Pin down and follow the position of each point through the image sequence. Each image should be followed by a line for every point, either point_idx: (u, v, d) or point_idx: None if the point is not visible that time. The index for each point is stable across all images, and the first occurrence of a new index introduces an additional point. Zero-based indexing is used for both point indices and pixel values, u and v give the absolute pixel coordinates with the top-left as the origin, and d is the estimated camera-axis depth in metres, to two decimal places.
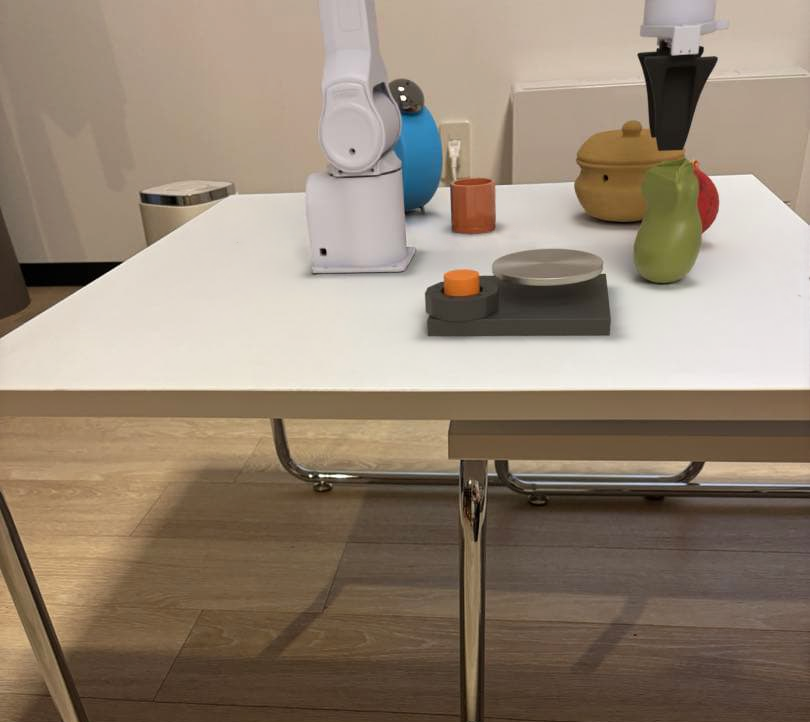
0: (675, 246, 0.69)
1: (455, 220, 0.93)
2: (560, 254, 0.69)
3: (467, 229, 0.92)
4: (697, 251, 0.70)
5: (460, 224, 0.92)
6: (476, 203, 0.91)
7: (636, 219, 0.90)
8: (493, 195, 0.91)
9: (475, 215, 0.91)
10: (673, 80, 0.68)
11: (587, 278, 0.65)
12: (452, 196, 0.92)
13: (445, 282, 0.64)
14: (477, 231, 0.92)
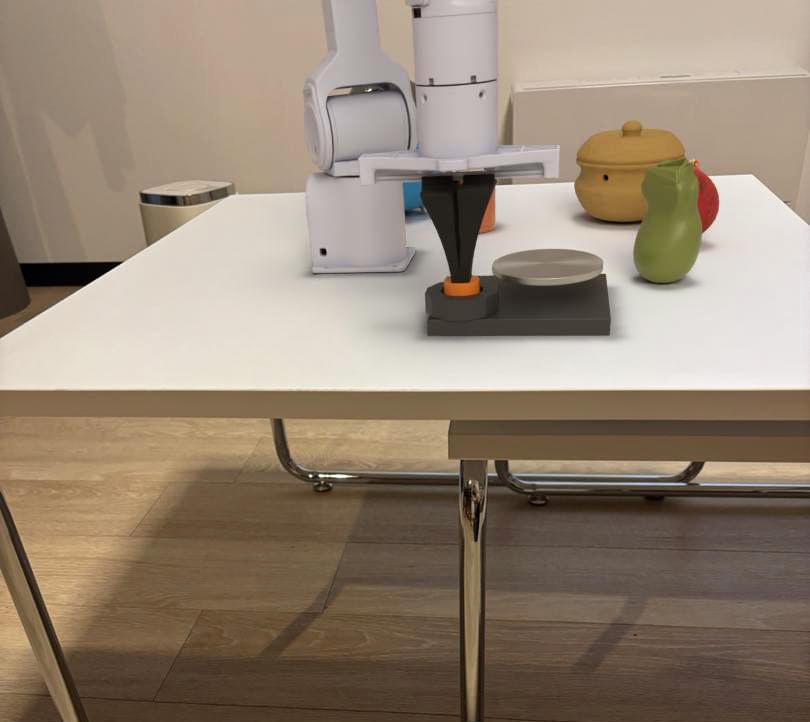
0: (675, 246, 0.69)
1: None
2: (560, 254, 0.69)
3: None
4: (697, 251, 0.70)
5: None
6: None
7: (636, 219, 0.90)
8: (493, 195, 0.91)
9: None
10: None
11: (587, 278, 0.65)
12: None
13: (445, 287, 0.64)
14: None
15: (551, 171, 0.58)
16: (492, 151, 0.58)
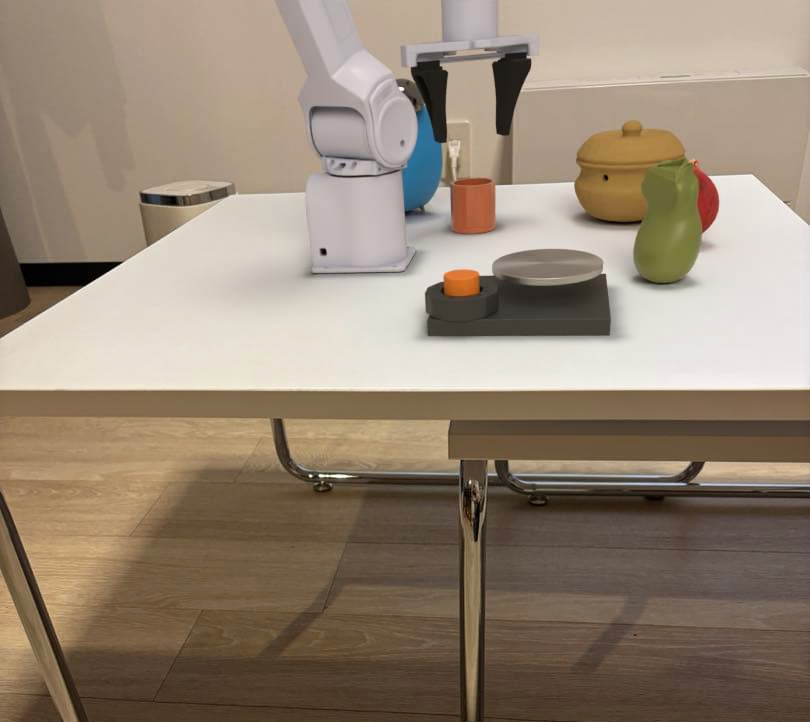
0: (675, 246, 0.69)
1: (455, 220, 0.93)
2: (560, 254, 0.69)
3: (467, 229, 0.92)
4: (697, 251, 0.70)
5: (460, 224, 0.92)
6: (476, 203, 0.91)
7: (636, 219, 0.90)
8: (493, 195, 0.91)
9: (475, 215, 0.91)
10: None
11: (587, 278, 0.65)
12: (452, 196, 0.92)
13: (445, 282, 0.64)
14: (477, 231, 0.92)
15: (534, 50, 0.86)
16: (498, 36, 0.84)
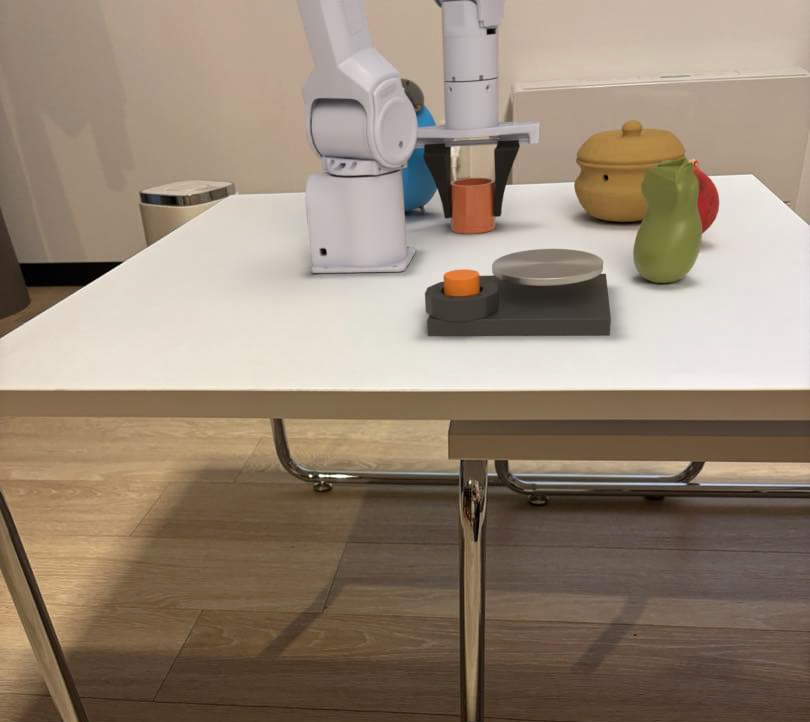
0: (675, 246, 0.69)
1: (455, 220, 0.93)
2: (560, 254, 0.69)
3: (466, 229, 0.92)
4: (697, 251, 0.70)
5: (459, 224, 0.92)
6: (476, 203, 0.91)
7: (636, 219, 0.90)
8: (493, 195, 0.91)
9: (475, 215, 0.91)
10: None
11: (587, 278, 0.65)
12: (452, 196, 0.92)
13: (445, 282, 0.64)
14: (477, 231, 0.92)
15: None
16: None
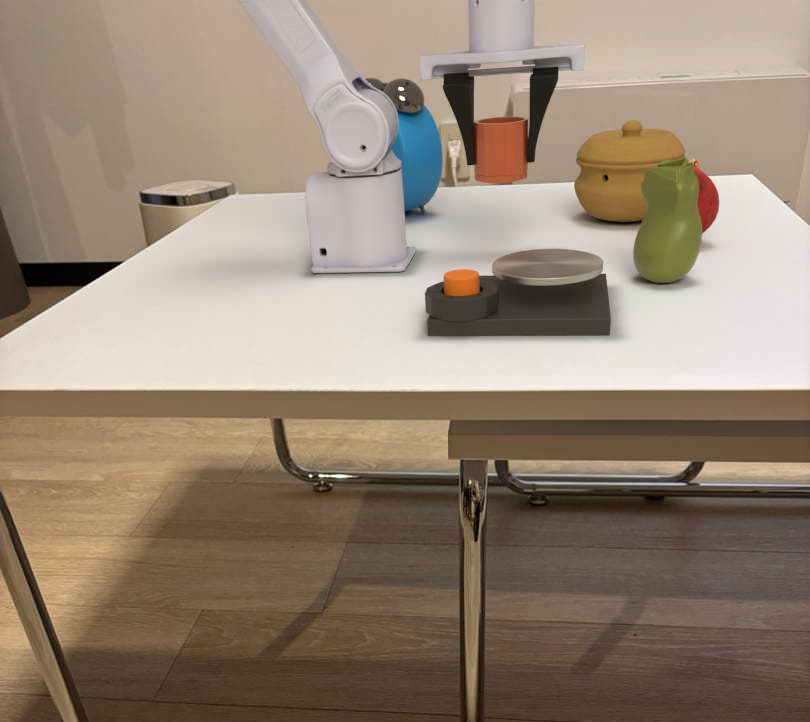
0: (675, 246, 0.69)
1: (480, 167, 0.77)
2: (560, 254, 0.69)
3: (494, 177, 0.77)
4: (697, 251, 0.70)
5: (486, 171, 0.77)
6: (506, 145, 0.75)
7: (636, 219, 0.90)
8: (526, 136, 0.76)
9: (504, 160, 0.76)
10: None
11: (587, 278, 0.65)
12: (476, 137, 0.76)
13: (445, 282, 0.64)
14: (506, 180, 0.77)
15: None
16: None
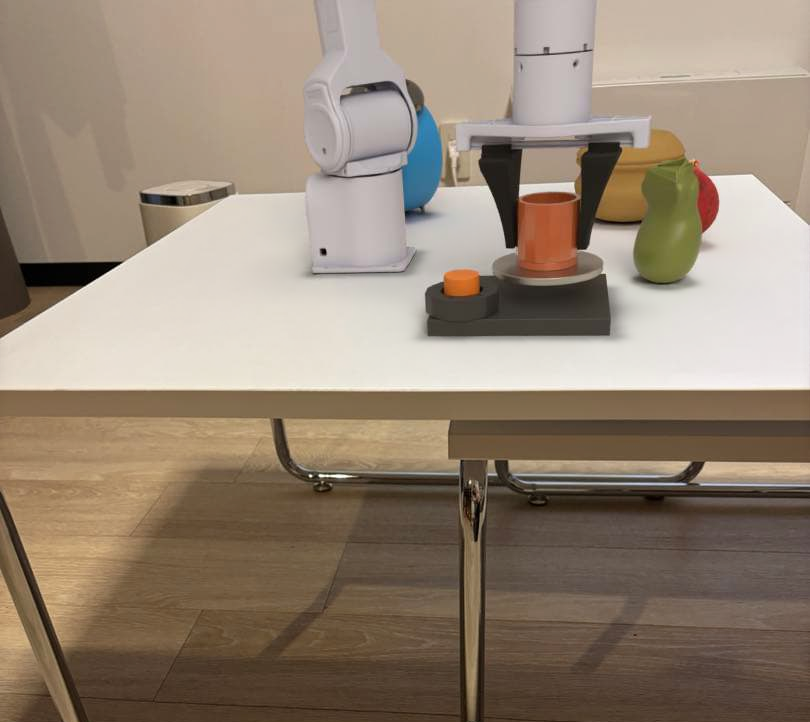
0: (675, 246, 0.69)
1: (520, 251, 0.66)
2: None
3: (535, 264, 0.66)
4: (697, 251, 0.70)
5: (526, 257, 0.66)
6: (550, 229, 0.64)
7: (636, 219, 0.90)
8: (576, 218, 0.64)
9: (548, 245, 0.65)
10: None
11: (587, 278, 0.65)
12: (518, 217, 0.65)
13: (445, 282, 0.64)
14: (549, 268, 0.65)
15: None
16: None
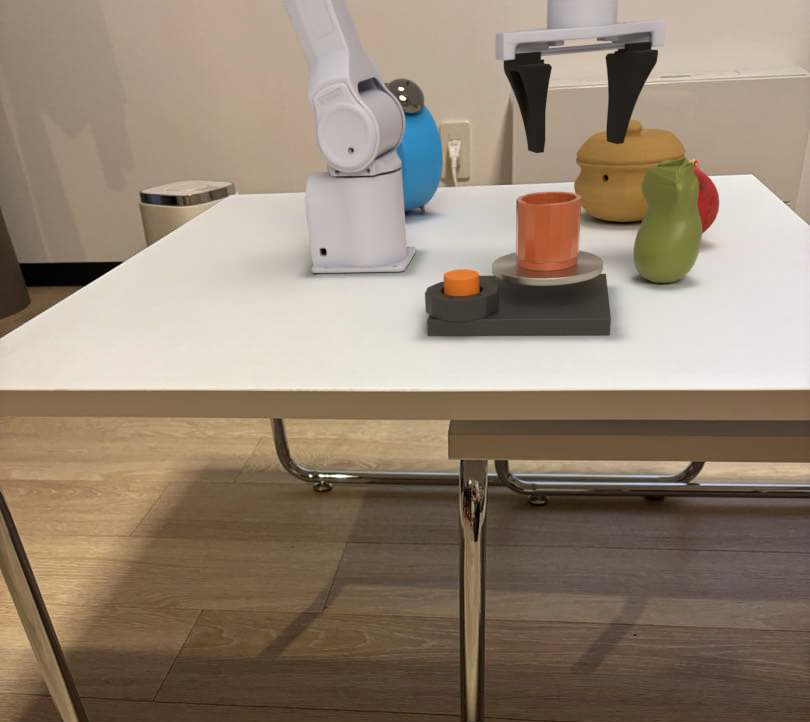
0: (675, 246, 0.69)
1: (520, 251, 0.66)
2: None
3: (535, 264, 0.66)
4: (697, 251, 0.70)
5: (526, 257, 0.66)
6: (550, 229, 0.64)
7: (636, 219, 0.90)
8: (576, 218, 0.64)
9: (548, 245, 0.65)
10: None
11: (587, 278, 0.65)
12: (518, 217, 0.65)
13: (445, 282, 0.64)
14: (549, 268, 0.65)
15: None
16: None
